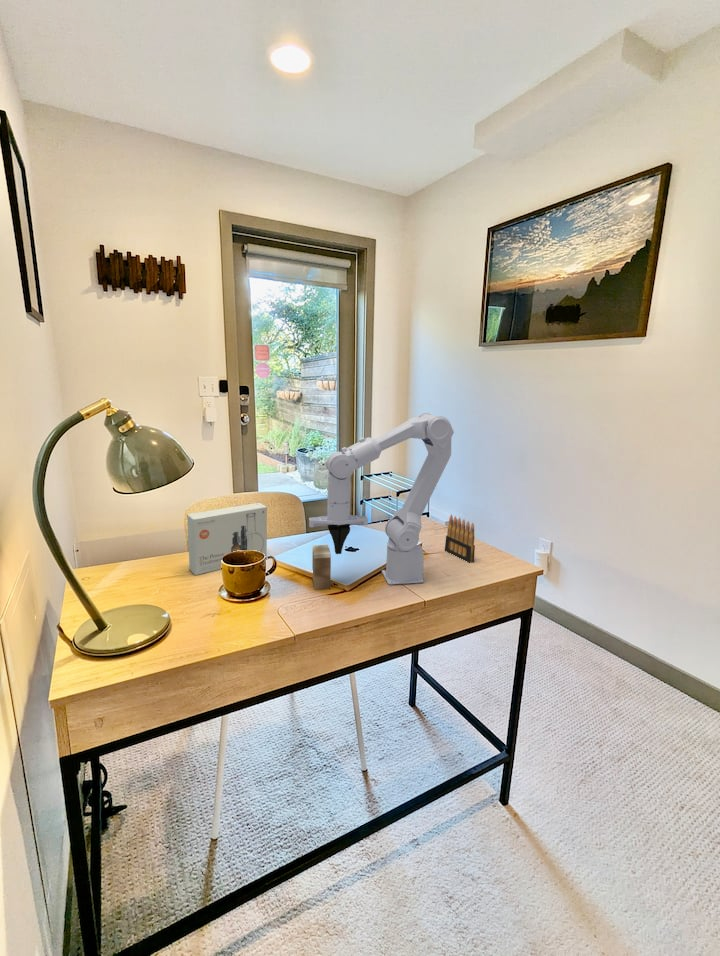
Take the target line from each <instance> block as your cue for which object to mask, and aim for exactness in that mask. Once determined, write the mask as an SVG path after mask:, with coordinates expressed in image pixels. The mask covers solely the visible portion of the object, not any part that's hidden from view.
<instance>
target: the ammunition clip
mask: <svg viewBox="0 0 720 956" xmlns="http://www.w3.org/2000/svg"><path fill="white" fill-rule="evenodd" d="M461 519H462V518H461V517H458V519H457V516H456V515H455V516H454V517H453V514H450V516H449V519H448V524H447V525H448V526H447V531H446V532H447V533H446V536H445V542H444V543H445V544H444V552H446V551H447V552H446V553H448V554H450V553H451V554H450V555H452V554H453V555H452V556H454V555H455V556H454V557H456V556H457V557H456V558H458V557H459V558H458V559H460V558H461V559H460V560H462V559H463V560H462V561H464V560H465V561H464V562H466V561H467V562H466V563H468V562H469V564H470V562H472V563H474V562H475V552H476V551H475V549H476V548H475V547H476V546H475V524H474V522H472V523H471V524H470V521H469V520H467V522H466V520H465V519H462V520H461ZM473 561H474V562H473Z"/></svg>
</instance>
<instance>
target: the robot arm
mask: <svg viewBox="0 0 720 956" xmlns="http://www.w3.org/2000/svg"><path fill="white" fill-rule="evenodd" d="M454 434H455V433H454V429H453V427H452V424H451V421H450V420H449V419H447V418H446V417H445V416H442V415H434V414H431V413H430V412H429V413H428V412H426V413H425V412H424V413H421V414H419V415H418V416H413V417H411V418H410V419H408V420H407V421H405V422H403V423H401V424H399V425H398V426H396V427H395V428H392V429H391V430H389V431H387V432H386V433H384V434H382V435H380V436H379V437H377V438H372V437H366V438H365V437H363V436H362V437H360V438H358V442H356V443H354V444H352V445H350V446H348V447H346V446H344V447H342V448H341V451H334V452H332V453H330V454H329V456H328V457H327V459H326V462H325V467H326V469H327V471H328V477H327V480H328V481H327V499H326V500H327V507H326V510H327V513H326V514H327V515H322V516H317V517H316V516H314V517H309V518H308V526H309V528H314V527H327V529H328V532H329V534H330V535H331V538H332V539H331V540H332V541H333V545H334V546H333V547H334V552H335V554H336V555H342V551H343V548H344V544H345V541H346V539H347V537H348V535H349V534H350V532H351V526H362V525H363V526H364V527H365V526H368V525H369V517H368V516H367V515H352V514H351V503H352V502H351V501H352V500H351V499H352V498H351V495H352V494H351V492H352V482H351V481H352V480H351V478H352V475H353V474H354V472H355V470H358V469H360V468H362V467H365V466H366V465H367V464H370V463H371V462H374V461H375V460H378V459H379V458H380V455H381V453H382V452H383V451H385V450H387V449H389V448H392V447H393V446H395V445H398V444H399V443H402V442H404V441H406V440H409V439H418V440H422V442H423V444H424V446H425V449H426V450H427V455H426V457H425V459H424V461H423V464H422V466H421V468H420V470H419V473H418V474H417V476H416V478H415V480H414V483H413V484H412V487H411V488H410V491H409V493H408V495H407V497H406V499H405V501H404V503H403V505H402V507H401V508H399V509H397V510H396V511H395V512H394V515H393V516H392V517H391V518H390V519H389V520H388V521H386V524H385V527H384V531H385V535H386V536H387V537H388V541H387V544H386V563H385V564H386V567H385V569H382V570H381V573H382V576H383V577H384V579H385V581H386V582H387V585H389V586H390V585H403V584H404V585H405V584H420V583H424V576H423V575H424V564H425V563H424V562H425V558H424V555H425V554H424V550H423V547H422V546H421V545H419V544H418V543H419V540H420V532H421V530H422V518H421V517H422V515H423V513H424V511H425V509H426V507H427V505H428V504H429V501H430V499H431V497H432V495H433V493H434V491H435V489H436V487H437V485H438V482H439V480H440V478H441V477H442V474H443V473H444V470H445V469H446V466H447V464H448V462H449V460H450V458H451V456H452V437H453V435H454Z"/></svg>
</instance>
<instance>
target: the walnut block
mask: <svg viewBox="0 0 720 956" xmlns="http://www.w3.org/2000/svg"><path fill="white" fill-rule="evenodd" d="M331 557H332V553H331V550H330V547H329V544H319V545H317V544H316V545H312V563H311V564H312V570H313V577H312V584H313V589H314V591H324V590H331V576H332V575H331V573H332V571H331V567H332V566H331V565H332V563H331V562H332V561H331V560H332V559H331ZM312 570H311V571H312Z"/></svg>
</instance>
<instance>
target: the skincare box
mask: <svg viewBox="0 0 720 956" xmlns="http://www.w3.org/2000/svg"><path fill="white" fill-rule="evenodd" d="M267 507H268V506H267V505H264V504H263V503H261V502H256V503H249V504H248V503H247V504H243V505H235V506H230V507H224V508H223V507H222V508H220V509H211V510H206V511H200V512H193V513H187V514H186V518H187V543H188V545H187V549H188V565H189V566H188V568H189V571H191V573H192V574H193V575H195V576H199V575H202V574H206V573H210V572H214V571H219V570H222V569H221V560H222V557H223V556H224V555H225V554H228V553H231V552H233V551H237V550H257V551H260V552H262V553H264V554H265V556H268V555H267V554H268V553H267V550H268V549H267V546H268V540H267V538H268V535H267V534H268V530H267V529H268V523H267V522H268V508H267Z"/></svg>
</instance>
